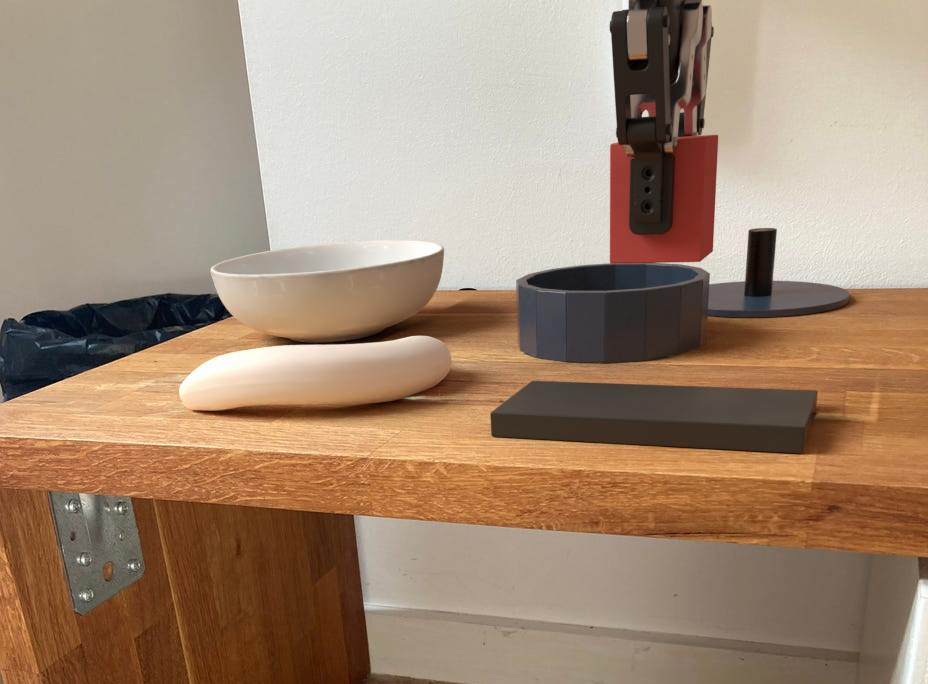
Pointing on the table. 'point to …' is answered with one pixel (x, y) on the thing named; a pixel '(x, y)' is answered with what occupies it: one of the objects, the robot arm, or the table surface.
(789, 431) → the board
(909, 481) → the table surface
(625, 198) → the red chamfered block
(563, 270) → the pot
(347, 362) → the banana
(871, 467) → the table surface
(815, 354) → the table surface
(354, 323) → the serving bowl
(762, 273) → the pot lid
